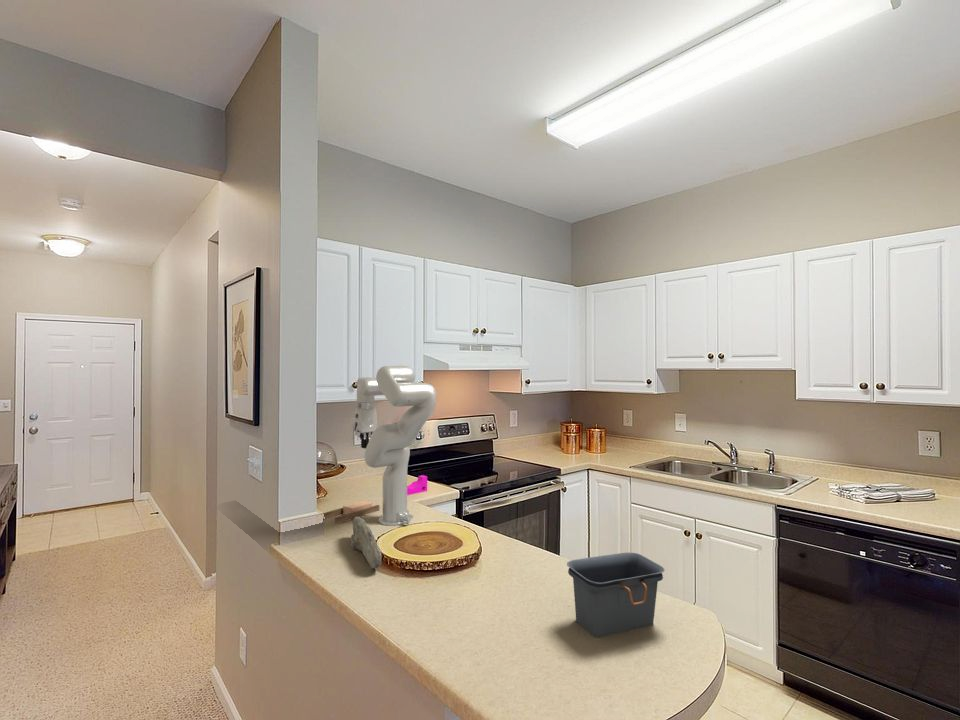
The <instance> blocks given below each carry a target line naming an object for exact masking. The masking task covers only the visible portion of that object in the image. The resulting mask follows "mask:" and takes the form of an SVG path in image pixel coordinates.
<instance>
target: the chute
mask: <svg viewBox="0 0 960 720" xmlns="http://www.w3.org/2000/svg"><path fill="white" fill-rule="evenodd" d="M379 511H380V504H376V505H372V507H369V508H366V509H362V510H359V511H356V512H352V513H349V514H346V515H344V514H343V507H341V508H340V507H339V508H337V509H333V510H330V511H326V512H323V514H324V517H325V519H324V520H327V519H330V518H333V517H335V518H334V523H335V525H337V524H341V523H344V522H346V521H347V520H348V521H350V519H351V520H353V519H354V518H355V517H360V518H361V517H363V516H366V514H367V515H369V514H372V513H373V514H374V513H376V512H379ZM340 514H341V515H340Z"/></svg>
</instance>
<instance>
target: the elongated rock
mask: <svg viewBox="0 0 960 720" xmlns="http://www.w3.org/2000/svg"><path fill="white" fill-rule="evenodd" d="M367 524H368V523H367V522H366V521H365V518H361V516H360V517H355V518H354V519H352V534H351V535H350V541H351V544H350V547H351V549H352V550H358V551H359V552H362V555H363V556H364V557H365V560H366V561H367V563H368V565H369V567H370V569H374V570H378V569H380V566H382V550H381V548H380V547H379V546H378V543H377V541H376V539H375V535H374V534H373V531H372V529H371V528H370V527H369V526H368V525H367Z"/></svg>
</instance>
